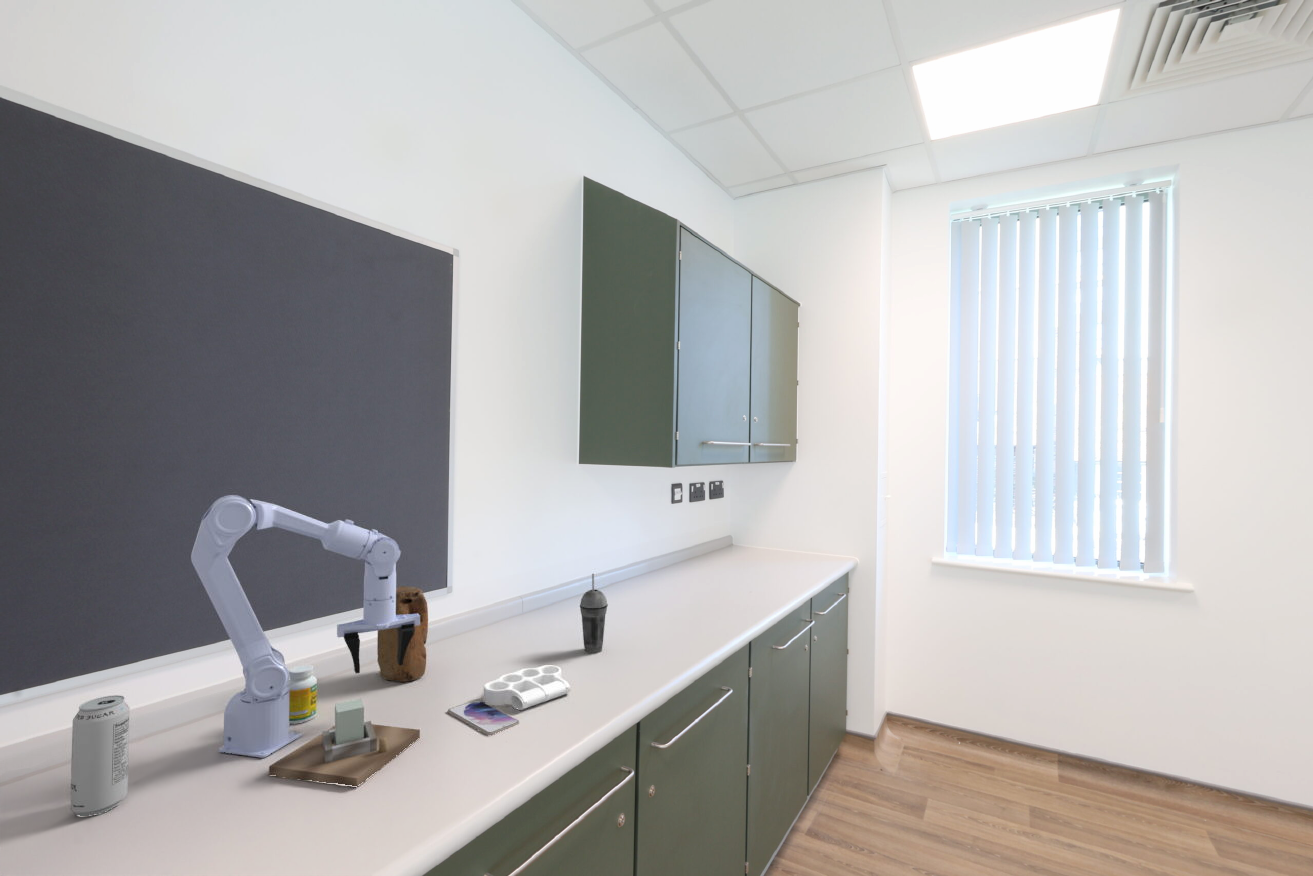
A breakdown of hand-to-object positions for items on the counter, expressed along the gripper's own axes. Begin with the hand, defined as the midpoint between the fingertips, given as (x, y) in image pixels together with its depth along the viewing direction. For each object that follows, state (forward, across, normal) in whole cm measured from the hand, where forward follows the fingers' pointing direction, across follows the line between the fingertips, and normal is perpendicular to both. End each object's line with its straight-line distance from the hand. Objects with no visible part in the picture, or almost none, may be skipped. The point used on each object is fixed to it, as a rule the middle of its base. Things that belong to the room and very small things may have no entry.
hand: (379, 667), depth 114 cm
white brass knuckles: (+10, +28, -5) cm, 31 cm away
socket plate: (+9, -6, -13) cm, 18 cm away
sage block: (+8, -6, -14) cm, 17 cm away
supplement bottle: (+10, -13, +7) cm, 17 cm away
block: (+10, +8, +19) cm, 23 cm away
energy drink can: (+10, -38, -10) cm, 41 cm away
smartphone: (+10, +17, -11) cm, 23 cm away
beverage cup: (+10, +52, +11) cm, 54 cm away
